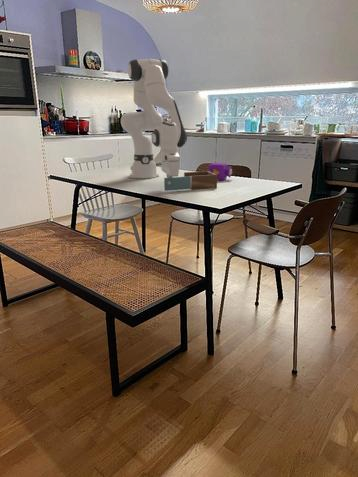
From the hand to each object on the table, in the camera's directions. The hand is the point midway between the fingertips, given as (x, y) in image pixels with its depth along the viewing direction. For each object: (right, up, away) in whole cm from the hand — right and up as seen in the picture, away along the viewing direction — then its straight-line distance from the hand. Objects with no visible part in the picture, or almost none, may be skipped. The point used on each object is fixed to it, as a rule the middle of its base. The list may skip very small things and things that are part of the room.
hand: (169, 182), depth 192 cm
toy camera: (+30, +7, +33) cm, 45 cm away
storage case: (+16, 0, +11) cm, 20 cm away
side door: (+5, -4, 0) cm, 6 cm away
